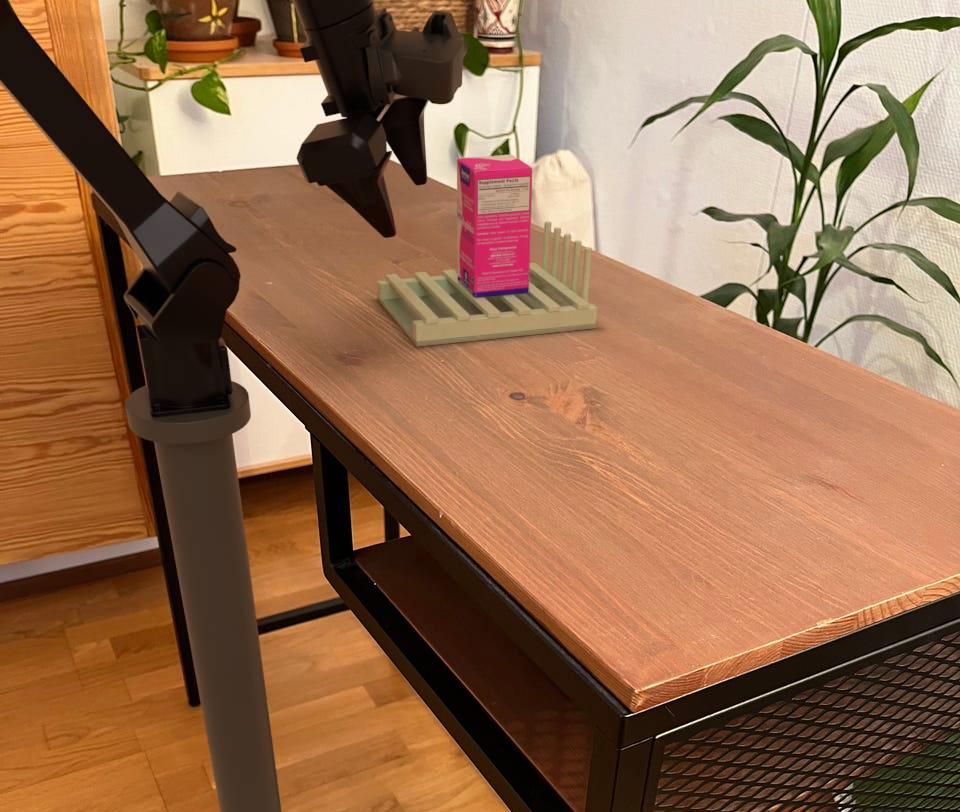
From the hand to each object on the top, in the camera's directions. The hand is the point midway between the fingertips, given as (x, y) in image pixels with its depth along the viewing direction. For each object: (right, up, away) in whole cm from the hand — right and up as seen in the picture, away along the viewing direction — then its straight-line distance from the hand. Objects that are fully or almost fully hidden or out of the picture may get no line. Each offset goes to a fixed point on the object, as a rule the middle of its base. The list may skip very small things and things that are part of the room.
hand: (406, 209), depth 89 cm
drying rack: (+7, -5, +13) cm, 16 cm away
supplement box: (+8, -3, +12) cm, 14 cm away
